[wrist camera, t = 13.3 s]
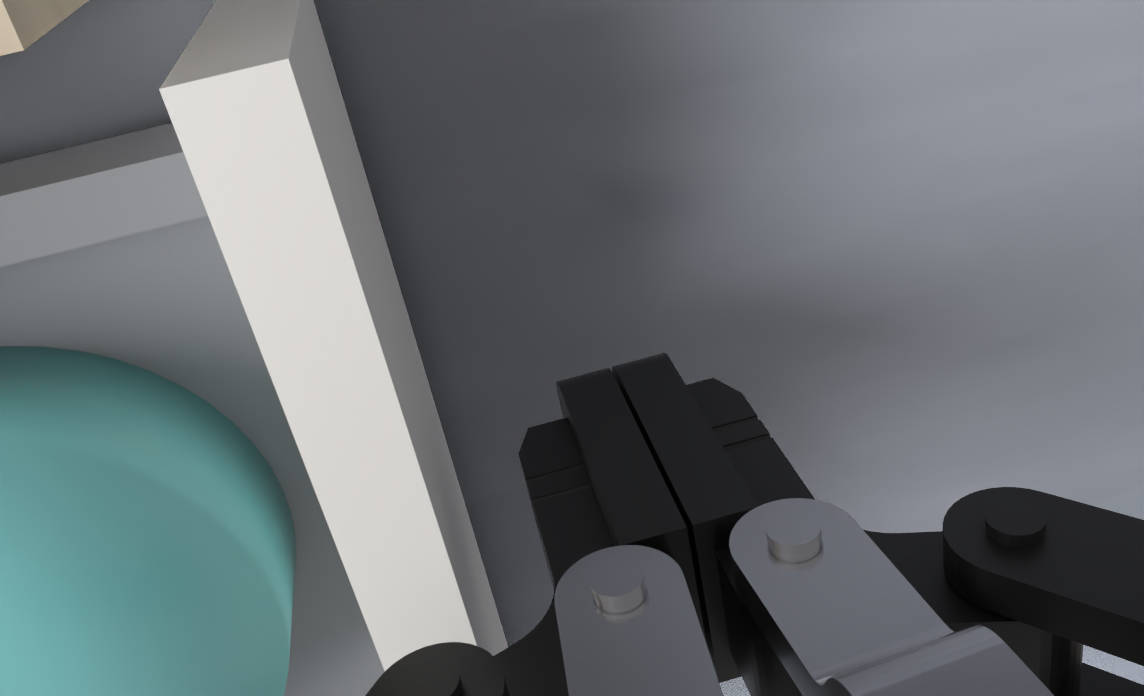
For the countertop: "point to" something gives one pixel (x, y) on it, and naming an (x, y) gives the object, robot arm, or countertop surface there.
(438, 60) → the countertop surface
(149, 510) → the teal shallow dome
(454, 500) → the tray
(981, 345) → the countertop surface
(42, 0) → the beige cube block
